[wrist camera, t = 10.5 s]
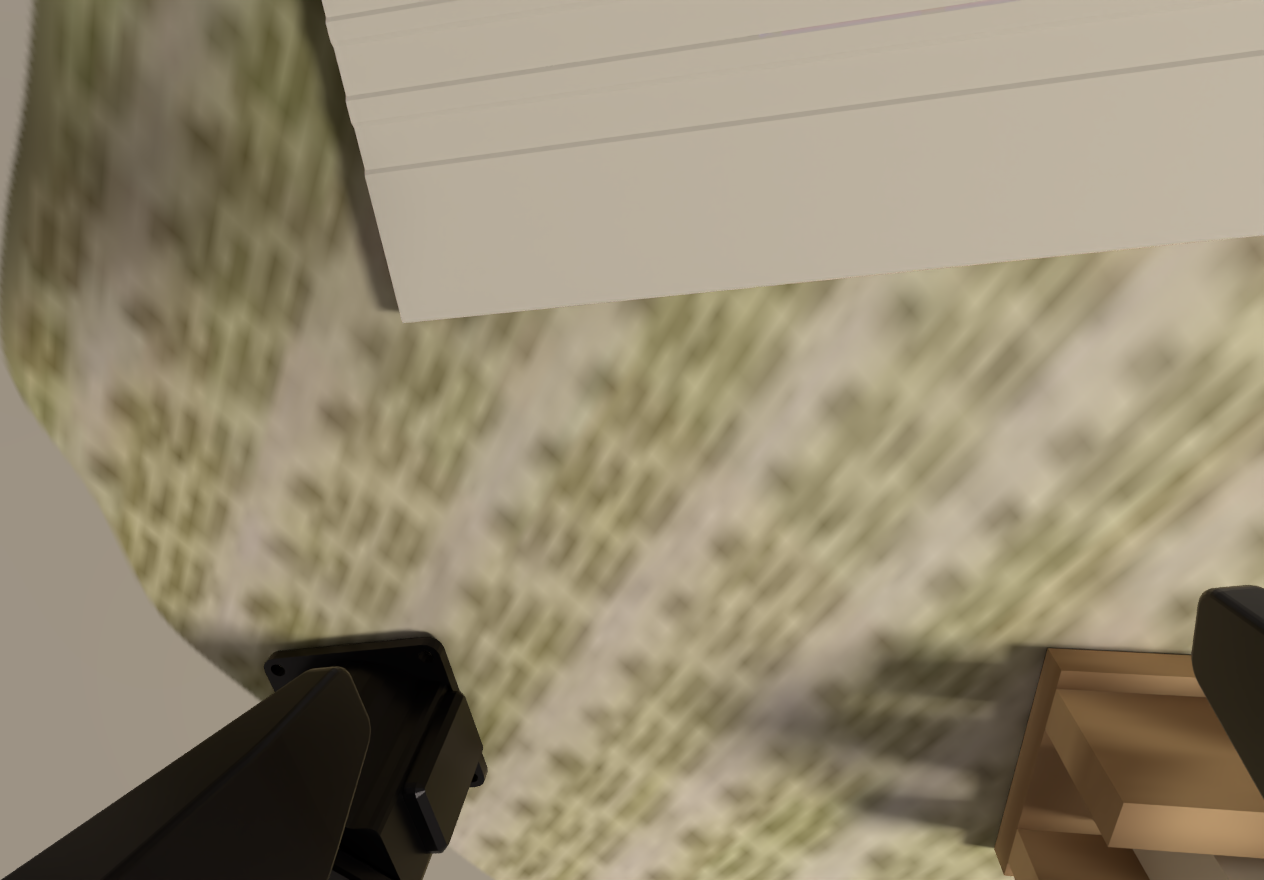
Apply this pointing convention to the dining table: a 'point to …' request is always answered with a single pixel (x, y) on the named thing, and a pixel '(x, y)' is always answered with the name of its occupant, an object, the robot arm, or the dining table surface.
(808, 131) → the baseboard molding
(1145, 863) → the off-white rectangular block
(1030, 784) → the wooden slotted stand
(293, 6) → the dining table surface
